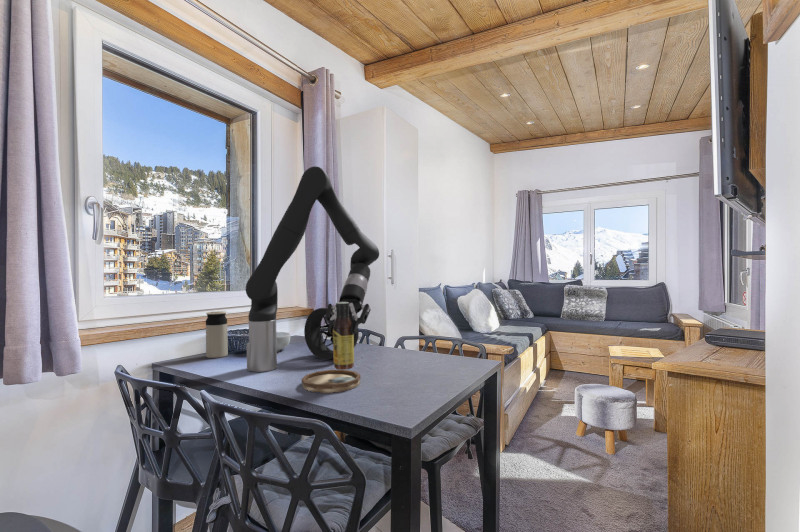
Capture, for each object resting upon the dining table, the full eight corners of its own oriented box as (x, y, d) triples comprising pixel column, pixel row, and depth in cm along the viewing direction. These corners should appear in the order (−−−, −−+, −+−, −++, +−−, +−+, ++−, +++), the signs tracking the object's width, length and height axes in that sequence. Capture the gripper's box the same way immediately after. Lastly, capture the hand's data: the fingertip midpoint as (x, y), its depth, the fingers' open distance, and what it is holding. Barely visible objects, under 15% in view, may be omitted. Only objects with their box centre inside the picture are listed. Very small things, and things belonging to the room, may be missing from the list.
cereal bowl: (284, 354, 165) (284, 337, 165) (243, 355, 165) (243, 338, 165) (295, 346, 182) (294, 330, 182) (258, 347, 182) (258, 331, 182)
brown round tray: (294, 392, 114) (294, 385, 114) (312, 376, 131) (312, 369, 131) (353, 393, 112) (353, 385, 112) (364, 376, 129) (363, 369, 129)
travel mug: (225, 357, 160) (224, 312, 161) (203, 359, 159) (203, 313, 159) (229, 353, 168) (229, 310, 168) (209, 354, 167) (208, 311, 167)
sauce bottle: (334, 365, 124) (332, 301, 124) (354, 364, 125) (353, 300, 125) (332, 371, 118) (330, 303, 118) (354, 370, 118) (352, 302, 118)
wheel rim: (359, 357, 157) (358, 306, 157) (344, 362, 149) (343, 308, 149) (320, 352, 167) (319, 304, 167) (304, 357, 159) (303, 306, 159)
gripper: (330, 283, 130) (314, 325, 119) (372, 282, 127) (360, 326, 115) (337, 298, 135) (322, 339, 124) (378, 298, 132) (367, 341, 120)
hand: (341, 333), depth 120 cm, fingers closed on sauce bottle, 6 cm apart
